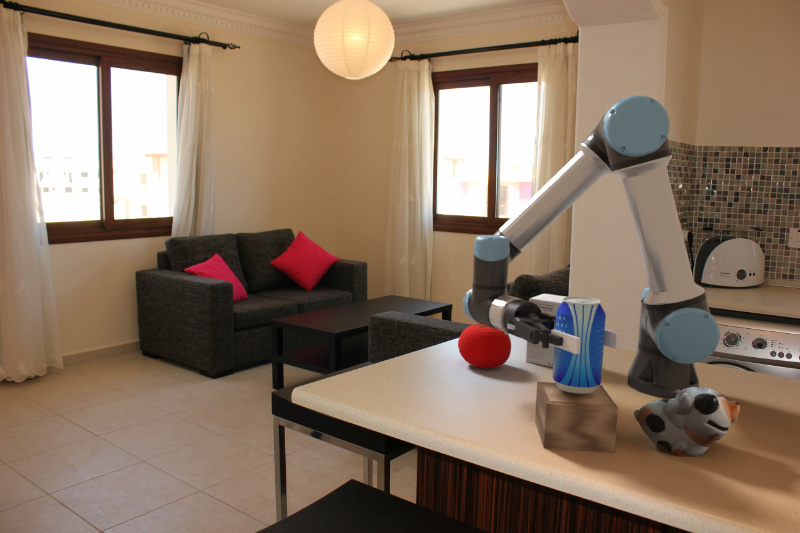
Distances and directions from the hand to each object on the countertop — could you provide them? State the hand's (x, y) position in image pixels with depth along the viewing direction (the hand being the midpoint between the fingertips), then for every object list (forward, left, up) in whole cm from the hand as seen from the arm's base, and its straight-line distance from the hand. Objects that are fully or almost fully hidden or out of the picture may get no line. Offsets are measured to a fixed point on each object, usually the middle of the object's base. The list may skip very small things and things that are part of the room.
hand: (598, 343), depth 106 cm
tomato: (+16, -46, -19) cm, 52 cm away
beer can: (+2, -4, -9) cm, 11 cm away
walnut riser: (+2, -4, -18) cm, 19 cm away
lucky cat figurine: (-17, -3, -19) cm, 25 cm away
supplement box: (-1, -53, -19) cm, 56 cm away
